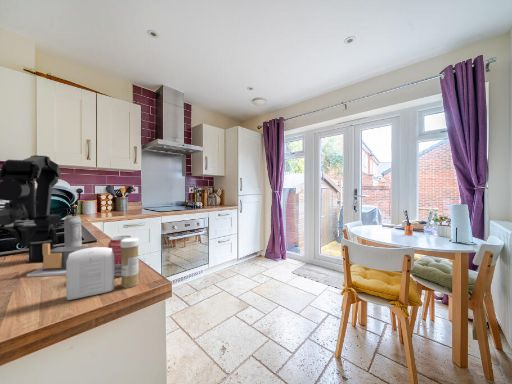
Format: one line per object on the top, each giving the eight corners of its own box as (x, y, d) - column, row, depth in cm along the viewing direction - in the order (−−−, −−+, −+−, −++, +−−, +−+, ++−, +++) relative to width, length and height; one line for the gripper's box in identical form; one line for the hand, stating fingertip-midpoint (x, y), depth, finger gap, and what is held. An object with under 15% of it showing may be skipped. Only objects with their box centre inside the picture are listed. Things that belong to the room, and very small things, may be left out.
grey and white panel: (26, 276, 68) (26, 255, 68) (58, 262, 81) (57, 244, 81) (89, 273, 70) (88, 253, 70) (110, 260, 83) (109, 243, 83)
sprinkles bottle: (118, 285, 62) (118, 239, 62) (135, 280, 66) (135, 236, 65) (124, 290, 59) (123, 242, 59) (141, 284, 63) (141, 239, 63)
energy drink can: (77, 246, 103) (76, 215, 102) (84, 248, 100) (84, 216, 100) (61, 249, 97) (61, 217, 97) (69, 251, 95) (68, 217, 94)
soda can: (130, 267, 76) (130, 234, 75) (136, 273, 71) (136, 237, 70) (106, 273, 71) (105, 237, 70) (111, 280, 66) (110, 241, 65)
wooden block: (42, 268, 70) (42, 244, 70) (45, 267, 71) (44, 243, 71) (59, 268, 71) (59, 243, 71) (61, 267, 72) (61, 243, 72)
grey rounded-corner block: (114, 285, 62) (114, 243, 62) (114, 291, 58) (114, 246, 58) (68, 295, 56) (67, 249, 56) (64, 302, 53) (63, 253, 53)
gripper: (-43, 200, 60) (-41, 255, 60) (33, 200, 63) (34, 253, 63) (-1, 198, 71) (0, 244, 71) (62, 198, 74) (63, 243, 74)
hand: (23, 246), depth 70 cm, fingers closed
